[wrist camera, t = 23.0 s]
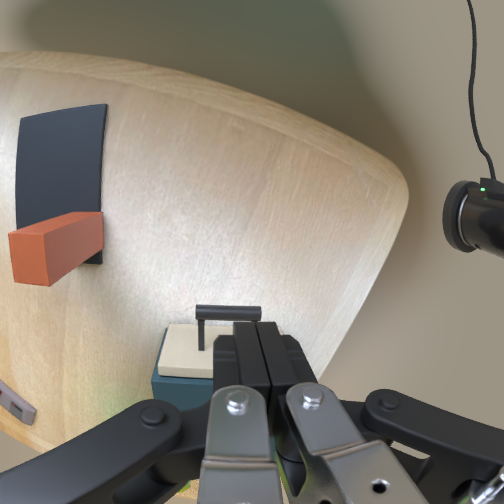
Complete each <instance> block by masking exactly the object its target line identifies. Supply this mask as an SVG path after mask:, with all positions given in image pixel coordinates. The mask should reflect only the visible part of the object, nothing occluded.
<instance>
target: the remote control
mask: <svg viewBox="0 0 504 504" xmlns="http://www.w3.org/2000/svg"><path fill="white" fill-rule="evenodd" d="M0 405H2V406H3V407H4V408H5V409H6V410H8V411H9V412H10V413H11V414H12V415H14V416H15V417H16V418H17V419H19V420H20V421H21V422H23V423H25V424H28V425H32V424H33V421H34V417H35V413H36V409H35V408H33V407H32V406H31V405H29V404H28V403H27V402H25V401H24V400H23V399H22V398H20V397H19V396H18V395H17V394H15V393H14V392H13V391H12V390H11V389H10V388H8V387H7V386H6V385H5V384H4V383H3V382H2V381H0Z"/></svg>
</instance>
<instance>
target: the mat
mask: <svg viewBox="0 0 504 504" xmlns="http://www.w3.org/2000/svg"><path fill="white" fill-rule="evenodd" d="M106 112H107V104H98V105H90V106H82V107H75V108H69V109H63V110H57V111H52V112H47V113H42V114H37V115H33V116H29V117H24V118H21V120H20V127H19V136H18V146H17V159H16V184H15V199H16V225H17V230H18V229H21V228H24V227H27V226H30V225H33V224H36V223H39V222H42V221H45V220H48V219H51V218H55V217H58V216H61V215H64V214H68V213H71V212H100V197H101V167H102V151H103V139H104V129H105V120H106ZM83 263H85V264H102V249H101V250H100V251H98V252H97V253H96V254H94V255H93V256H91V257H90V258H88V259H87V260H85V261H84V262H83Z"/></svg>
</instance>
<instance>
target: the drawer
mask: <svg viewBox="0 0 504 504" xmlns="http://www.w3.org/2000/svg"><path fill="white" fill-rule="evenodd" d="M261 314H262V312H261V307H260V306H224V305H196V319H197V320H198V325H195V324H176V323H170V324H169V327H168V331H167V334H166V337H165V341H164V344H163V348H162V351H161V355H160V359H159V362H158V373H159V375H163V376H169V377H171V378H186V379H208V380H213V342H214V340H215V339H216V338H217V337H218V335H233V326H221V325H205V320H225V321H251V322H254V323H255V322H258V321H261ZM277 327H278V330H279V332H280V335H283V332H282V330H281V327H280V326H277Z"/></svg>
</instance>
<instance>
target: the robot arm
mask: <svg viewBox="0 0 504 504" xmlns="http://www.w3.org/2000/svg"><path fill="white" fill-rule="evenodd" d="M467 2H468V5H469V10H470V14H471V20H472V31H473V32H472V33H473V49H472V64H471V76H470V81H469V91H468V92H469V93H468V94H469V106H470V107H469V108H470V116H471V123H472V128H473V132H474V136H475V139H476V142H477V145H478V148H479V150H480V152H481V153H482V154H483V155H484V156H485V157H486V159H487V162H488V165H489V169H490V173H491V179H489V178H480V189H475V188H468V187H466V188H465V193H464V195H463V197H462V198H461V200H460V203H459V205H458V209H457V215H456V227H457V233H458V236H459V238H460V240H461V241H462V242H463V243H464V244H466V245H468V246H471V247H475V248H478V249H481V250H483V251H486V252H489V253H491V254H494V255H496V256H499V257H501V258H504V184H503V183H501V182H499V181H497V180H496V177H495V172H494V167H493V163H492V160H491V158H490V156H489V154H488V153H487V152H486V151H485V150H484V149H483V147H482V144H481V142H480V139H479V135H478V132H477V127H476V121H475V114H474V106H473V84H474V78H475V68H476V47H477V41H476V24H475V18H474V12H473V8H472V5H471V1H470V0H467ZM269 437H274V441H275V448H274V454H273V455H274V459H275V461H273V460H272V455H271V446H270V438H269ZM393 441H396V442H399V443H401V444H403V445H405V446H408V447H410V448H413V449H415V450H418V451H420V452H423V453H425V454H428V455H430V457H428V458H426V459H419V458H416V457H413V456H411V455H408V454H406V453H404V452H401V451H399V450H397V449H394V448H392V447H390V446H391V444H392V443H393ZM280 477H281V480H282V483H283V486H284V489H285V491H286V494H287V497H288V500H289V504H504V430H502V429H498V428H495V427H492V426H489V425H486V424H483V423H480V422H477V421H474V420H471V419H468V418H465V417H462V416H459V415H456V414H453V413H451V412H448V411H445V410H442V409H440V408H437V407H435V406H432V405H429V404H427V403H424V402H421V401H419V400H416V399H414V398H412V397H409V396H407V395H404V394H402V393H399V392H397V391H394V390H389V389H379V390H375V391H373V392H371V393H370V394H369V395H368V396H367V398H366V401H365V402H355V401H345V400H339V399H338V398H337V397H336V395H335V394H334V392H333V391H332V390H331V389H329V388H328V387H326V386H324V385H321V384H318V382H317V379H316V377H315V375H314V373H313V371H312V369H311V367H310V365H309V363H308V361H307V359H306V357H305V354H304V352H303V350H302V348H301V346H300V344H299V342H298V341H297V340H295V339H294V338H293V337H292V336H290V335H280V332H279V330H278V327H277V325H276V322H255V323H254V322H235V321H234V322H233V335H218V337H217V338H216V339H215V340H214V342H213V393H212V396H211V398H210V399H209V400H208V401H207V402H206V403H205V404H203V405H201V406H199V407H197V408H193V409H189V410H183V411H179V410H178V409H177V407H175V406H174V405H173V404H171V403H169V402H166V401H163V400H157V399H149V400H143V401H140V402H138V403H136V404H134V405H132V406H130V407H129V408H127V409H125V410H124V411H122V412H120V413H119V414H117V415H115V416H113V417H112V418H110V419H108V420H106V421H105V422H103V423H101V424H99V425H97V426H96V427H94V428H92V429H90V430H88V431H86V432H85V433H83V434H81V435H79V436H77V437H75V438H73V439H71V440H70V441H68V442H66V443H64V444H62V445H60V446H58V447H56V448H54V449H52V450H50V451H48V452H46V453H44V454H42V455H40V456H37V457H36V458H33V459H31V460H29V461H27V462H25V463H23V464H20V465H18V466H16V467H13V468H11V469H9V470H6V471H4V472H2V473H0V504H164V503H165V502H166V501H168V500H169V499H170V498H171V497H172V496H174V495H175V494H176V493H177V492H178V491H180V490H181V489H182V488H183V487H184V486H186V484H187V483H188V482H189V481H190V480H195V479H199V478H200V479H199V489H198V499H197V504H283V497H282V489H281V482H280Z"/></svg>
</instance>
